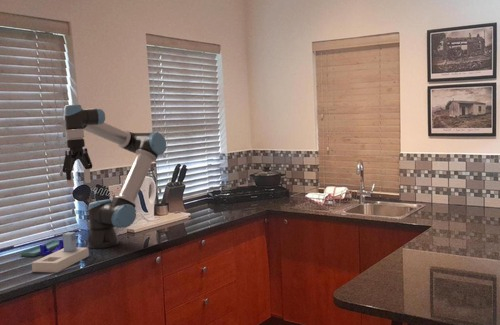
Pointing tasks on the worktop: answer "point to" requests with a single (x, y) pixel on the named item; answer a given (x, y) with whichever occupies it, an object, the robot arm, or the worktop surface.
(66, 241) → the plug
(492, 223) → the worktop surface
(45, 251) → the blue angular bent piece
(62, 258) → the socket strip
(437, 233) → the worktop surface
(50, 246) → the rectangular tray
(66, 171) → the robot arm
